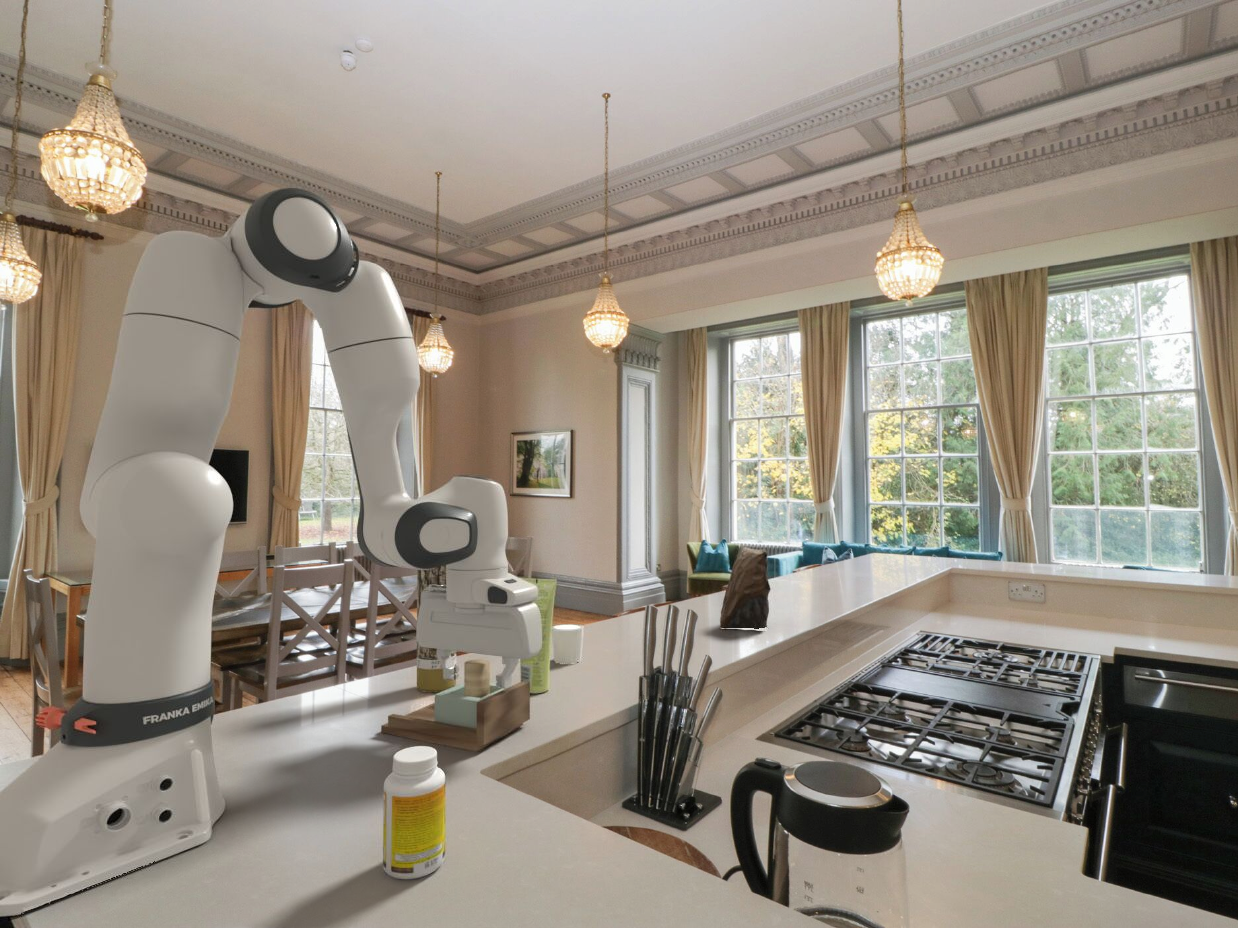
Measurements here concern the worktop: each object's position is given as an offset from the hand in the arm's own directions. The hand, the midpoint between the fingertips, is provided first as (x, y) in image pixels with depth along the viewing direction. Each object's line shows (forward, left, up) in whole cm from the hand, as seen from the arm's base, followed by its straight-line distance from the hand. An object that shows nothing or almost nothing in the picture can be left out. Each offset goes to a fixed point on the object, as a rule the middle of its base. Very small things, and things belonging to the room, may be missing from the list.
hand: (476, 683), depth 96 cm
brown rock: (+89, -16, -7) cm, 91 cm away
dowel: (0, 0, -6) cm, 6 cm away
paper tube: (+15, +20, -7) cm, 26 cm away
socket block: (0, 0, -6) cm, 6 cm away
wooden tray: (0, +4, -7) cm, 8 cm away
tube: (+21, +3, -7) cm, 22 cm away
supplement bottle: (-30, -16, -7) cm, 35 cm away
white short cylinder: (+41, +8, -7) cm, 42 cm away
